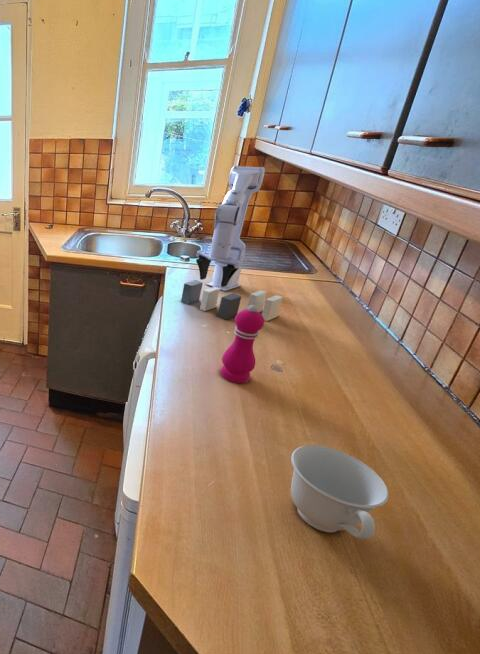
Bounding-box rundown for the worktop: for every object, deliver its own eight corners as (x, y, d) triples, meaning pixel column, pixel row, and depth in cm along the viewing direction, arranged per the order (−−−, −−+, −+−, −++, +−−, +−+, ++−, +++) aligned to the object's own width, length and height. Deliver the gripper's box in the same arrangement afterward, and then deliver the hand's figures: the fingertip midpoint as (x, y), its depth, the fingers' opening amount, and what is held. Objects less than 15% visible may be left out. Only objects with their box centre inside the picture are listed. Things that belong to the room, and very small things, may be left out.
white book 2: (271, 314, 134) (276, 295, 131) (277, 316, 132) (283, 297, 129) (260, 318, 131) (266, 299, 128) (266, 321, 130) (272, 301, 127)
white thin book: (210, 305, 141) (214, 286, 138) (215, 307, 140) (220, 288, 137) (199, 309, 138) (203, 290, 136) (204, 311, 137) (208, 292, 134)
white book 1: (255, 308, 138) (261, 289, 135) (261, 311, 136) (267, 291, 133) (245, 313, 135) (250, 293, 132) (251, 315, 134) (256, 295, 131)
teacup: (303, 563, 60) (325, 518, 56) (263, 482, 74) (278, 440, 69) (396, 577, 58) (426, 531, 54) (338, 491, 71) (358, 449, 67)
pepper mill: (253, 386, 99) (275, 313, 91) (220, 381, 101) (239, 309, 93) (247, 370, 105) (267, 300, 97) (216, 366, 107) (233, 297, 99)
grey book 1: (191, 297, 147) (195, 279, 144) (199, 300, 145) (202, 282, 142) (180, 301, 144) (184, 283, 141) (188, 304, 142) (191, 286, 139)
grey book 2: (228, 312, 136) (232, 292, 133) (236, 315, 134) (241, 296, 131) (217, 316, 133) (221, 296, 130) (225, 319, 131) (230, 300, 128)
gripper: (193, 239, 133) (186, 278, 139) (235, 250, 122) (226, 292, 127) (207, 236, 136) (199, 274, 142) (249, 246, 125) (239, 287, 131)
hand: (213, 282), depth 135 cm, fingers open, 7 cm apart
